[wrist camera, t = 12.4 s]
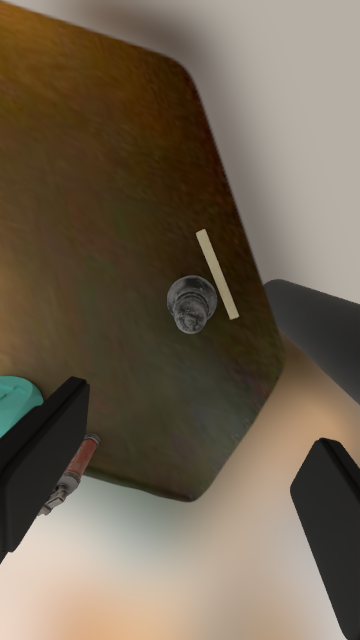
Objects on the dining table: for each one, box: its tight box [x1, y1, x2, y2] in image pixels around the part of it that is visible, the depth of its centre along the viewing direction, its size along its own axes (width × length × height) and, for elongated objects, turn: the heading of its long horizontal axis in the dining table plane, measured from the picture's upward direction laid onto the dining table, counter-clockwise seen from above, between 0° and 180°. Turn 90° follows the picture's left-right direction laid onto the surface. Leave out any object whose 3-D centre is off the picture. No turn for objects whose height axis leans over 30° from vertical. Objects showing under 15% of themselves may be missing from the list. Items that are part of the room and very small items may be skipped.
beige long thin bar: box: [196, 229, 239, 319], centre depth 27 cm, size 12×1×1 cm, turn 25°
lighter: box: [37, 433, 100, 516], centre depth 33 cm, size 8×3×10 cm, turn 128°
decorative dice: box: [0, 376, 43, 438], centre depth 32 cm, size 8×8×8 cm
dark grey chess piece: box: [167, 275, 217, 334], centre depth 22 cm, size 6×6×12 cm
